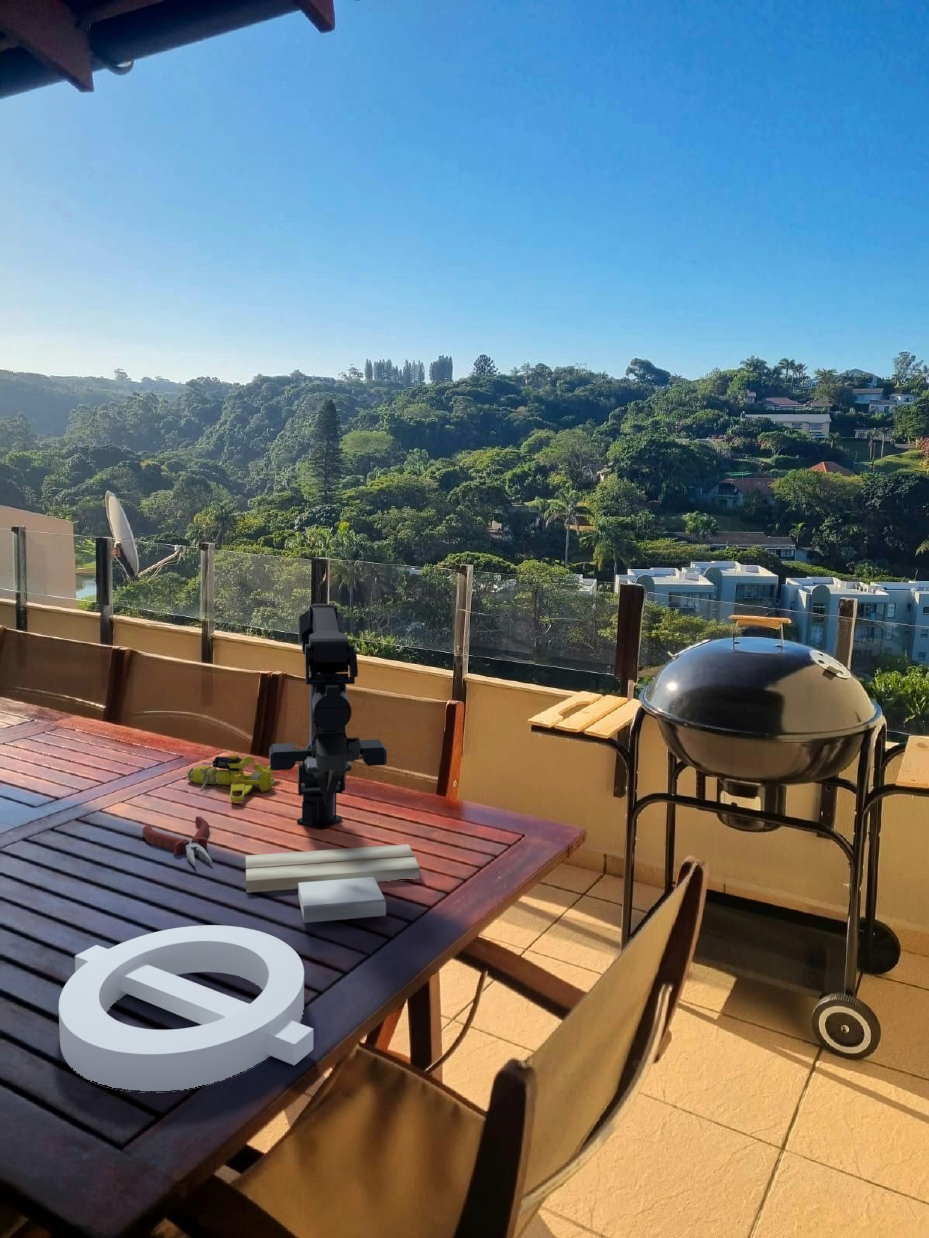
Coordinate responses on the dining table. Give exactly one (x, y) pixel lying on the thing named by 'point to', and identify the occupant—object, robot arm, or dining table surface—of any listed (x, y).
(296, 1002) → the ring with crossbar
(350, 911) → the white square slab
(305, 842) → the dining table surface
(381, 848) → the laid plank
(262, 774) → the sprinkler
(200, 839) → the pliers
